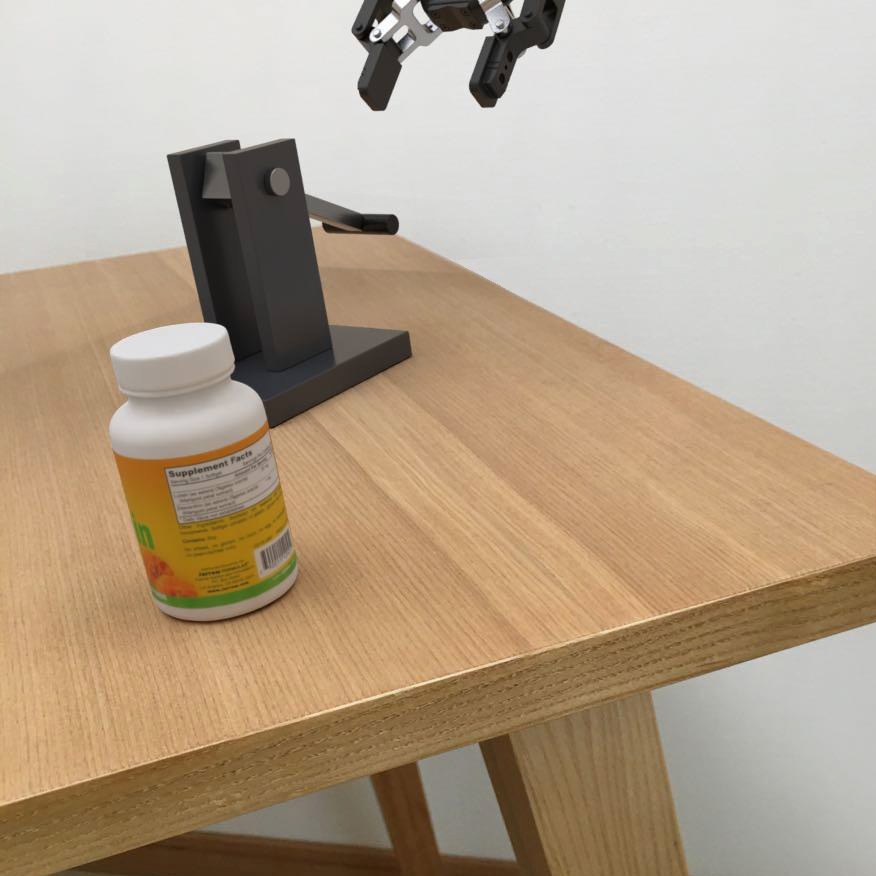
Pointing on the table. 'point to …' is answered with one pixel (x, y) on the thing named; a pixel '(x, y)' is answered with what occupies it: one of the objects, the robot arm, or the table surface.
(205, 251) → the bracket
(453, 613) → the table surface
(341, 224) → the press lever
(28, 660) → the table surface
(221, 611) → the supplement bottle
